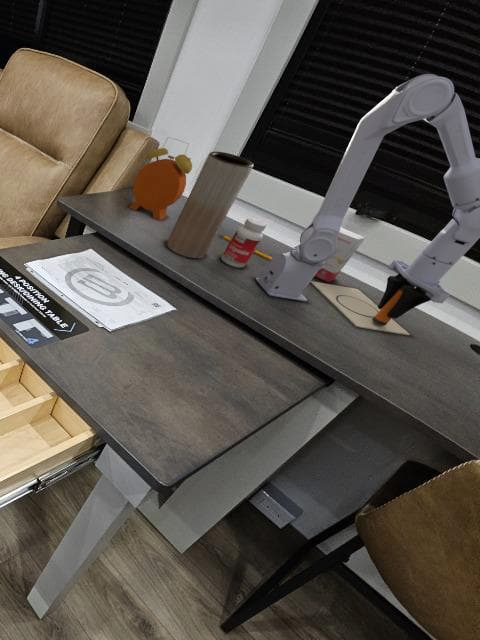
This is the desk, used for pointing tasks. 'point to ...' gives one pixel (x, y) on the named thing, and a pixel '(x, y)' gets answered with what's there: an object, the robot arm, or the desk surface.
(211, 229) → the planter
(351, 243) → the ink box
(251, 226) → the pill bottle
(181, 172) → the alarm clock
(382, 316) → the marker
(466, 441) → the desk surface
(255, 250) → the pencil
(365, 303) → the paper
